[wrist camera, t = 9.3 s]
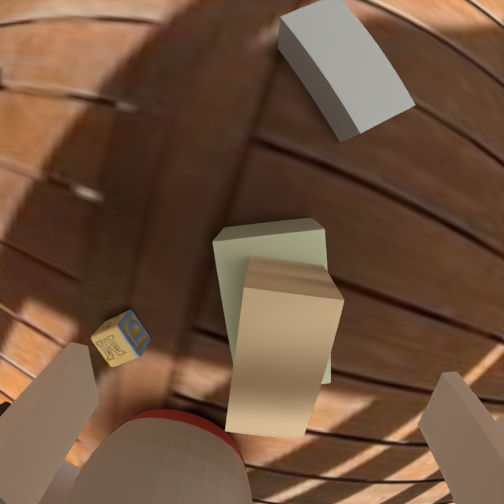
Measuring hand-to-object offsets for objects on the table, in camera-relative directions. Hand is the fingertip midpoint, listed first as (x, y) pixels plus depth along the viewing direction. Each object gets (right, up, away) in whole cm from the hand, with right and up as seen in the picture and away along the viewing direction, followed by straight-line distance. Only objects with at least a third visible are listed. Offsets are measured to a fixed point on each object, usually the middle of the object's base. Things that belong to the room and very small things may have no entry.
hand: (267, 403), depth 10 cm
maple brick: (+1, +1, +8) cm, 8 cm away
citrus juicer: (-7, -14, +17) cm, 23 cm away
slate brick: (+5, +17, +9) cm, 20 cm away
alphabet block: (-11, -1, +14) cm, 18 cm away
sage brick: (+1, +2, +13) cm, 13 cm away
